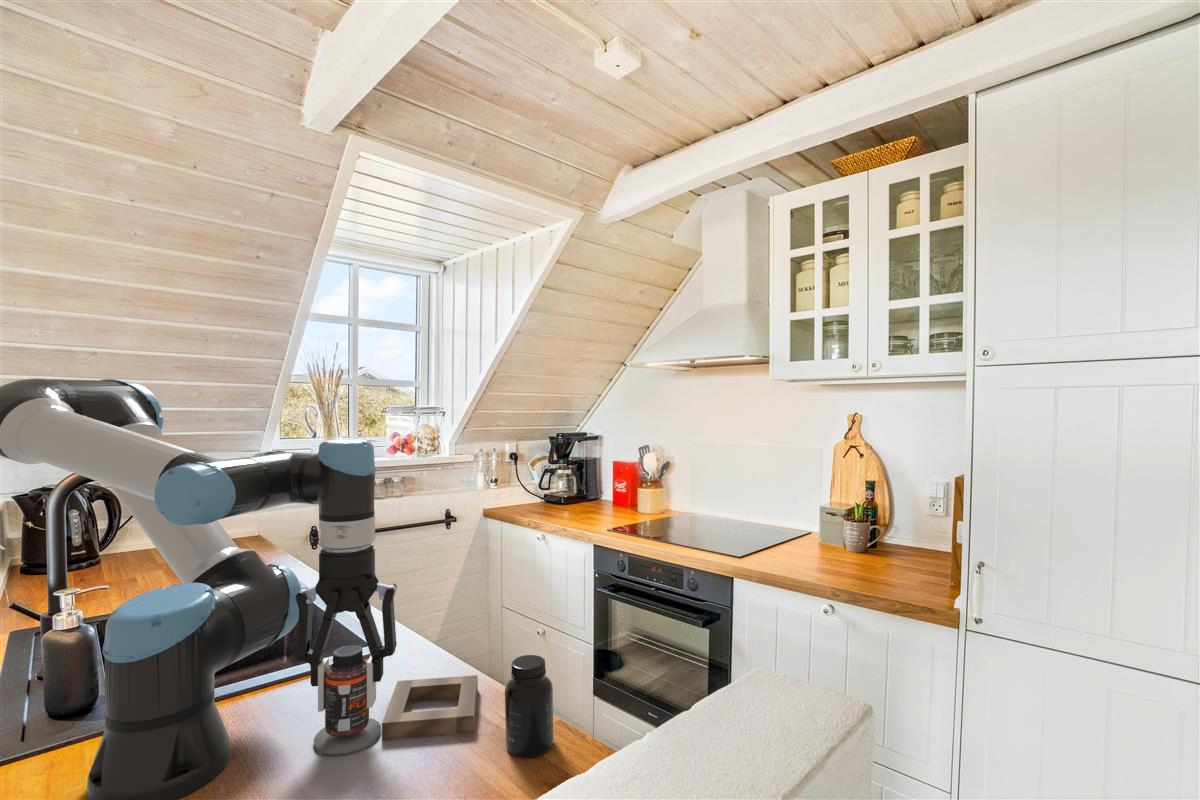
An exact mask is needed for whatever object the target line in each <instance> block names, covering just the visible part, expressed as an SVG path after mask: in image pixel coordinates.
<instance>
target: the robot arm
mask: <svg viewBox="0 0 1200 800" xmlns="http://www.w3.org/2000/svg"><path fill="white" fill-rule="evenodd" d="M162 412H163V409H162V406H161V404H160V402H159V400H158V398H157V397H156V396H155V395H154V394H153V392H152V391H150V390H149V389H148V388H147V387H145V386H143V385H142V384H139V383H137V382H133V381H127V380H126V381H124V380H120V379H111V378H109V379H107V378H106V379H105V378H104V379H99V380H97V379H96V380H95V379H93V380H92V379H59V378H55V379H54V378H52V379H51V378H26V379H19V380H14V381H12V382H10V383H5V384H3V385H1V386H0V456H1V457H3V458H5V459H9V460H12V461H14V462H16V463H21V464H24V465H25V464H26V465H37V464H47V465H49V466H53V467H56V468H58V469H61V470H64V471H67V472H70V473H73V474H76V475H79V476H82V477H85V478H87V479H90V480H93V481H96V482H98V483H101V484H104V485H108V486H110V487H111V489H112V490H113V492H114V493H115V494H116V496H117V497H118V498H119V499H120V501H121V502H122V504H123V505H124V506H125V508H126V510H128V512H129V513H130V515H131V516H132V517H133V518H134V520H135V521H136V522H137V524H138V525H139V526H140V529H142V531H143V532H144V533H145V535H146V536H147V537H148V538H149V540H150V542H151V543H152V544H153V546H154V547H155V549H156V550H157V551H158V552H159V554H160V555H161V557H162V558H163V560H165V561H166V563H167V564H168V566H169V567H170V568H171V570H172V571H173V573H174V574H175V575H176V576H177V578H178V579H179V581H180V582H181V583H176V584H171V585H169V586H166V587H158V588H155V589H151V590H149V591H146V592H145V591H144V592H143V593H140V594H137V595H136V596H133V597H131V598H130V599H128V600H126V601H124V602H123V603H121V604H120V605H118V606H117V607H116V608H115V609H114V610H112V612H111V613H110V615H109V616H108V619H107V621H106V624H105V628H104V629H105V631H104V632H105V634H104V642H103V645H102V655H103V657H104V715H105V716H104V723H105V724H104V732H103V735H102V737H101V740H100V742H99V745H98V749H97V751H96V754H95V755H94V758H93V759H94V760H93V762H92V764H91V767H90V770H89V773H88V776H87V779H86V780H87V781H86V799H87V800H177V799H179V798H182V797H185V796H186V795H188V794H190V793H192V792H194V791H196V790H198V789H199V788H201V787H203V786H205V785H206V784H207V783H209V782H211V781H212V780H213V779H214V778H215V777H216V776H217V775H219V774H220V773H221V772H222V771H223V770H224V769H225V767H226V766H227V764H228V762H229V761H230V757H231V756H230V755H231V754H230V753H231V752H230V751H231V750H230V749H231V748H230V747H231V745H230V742H231V741H230V740H231V739H230V736H229V733H228V730H227V729H226V726H225V724H224V721H223V719H222V716H221V714H220V712H219V709H218V708H217V704H216V701H215V674H216V673H217V672H218V671H220V670H222V669H224V668H226V667H228V666H230V665H232V664H234V663H236V662H238V661H241V660H242V659H244V658H246V657H248V656H250V655H251V654H254V653H256V652H257V651H259V650H261V649H266V648H268V647H270V646H271V645H273V644H274V643H275V642H277V640H280V639H281V638H283V637H284V636H286V635H287V634H289V633H290V632H291V631H292V630H293V629H294V627H296V625H297V638H296V639H297V640H296V650H295V651H296V653H295V655H296V656H295V659H296V661H297V662H298V663H299V662H300V663H302V662H305V663H308V664H309V666H310V685H311V687H317V712H320V713H321V712H325V677H326V671H327V669H328V668H329V666H330V657H324V655H325V650H326V648H327V645H328V641H329V639H330V636H331V632H332V630H333V625H334V623H335V620H336V617H337V614H339V613H344V612H350V613H355V615H356V618H357V619H358V621H359V624H360V628H361V629H362V633H363V636H364V638H365V641H366V645H367V647H368V651H369V653H370V656H369V658H368V660H367V661H366V662H367V708H369V709H371V708H373V707H374V704H375V702H376V700H377V683H380V682H381V680H382V678H383V675H384V658H386V657H391V656H393V655H394V653H395V650H396V648H397V631H396V630H397V629H396V616H395V604H394V603H395V601H394V600H395V599H394V598H395V595H396V593H397V590H398V589H397V588H398V586H397V584H396V583H390V584H385V583H381V582H379V580H378V578H377V576H376V548H375V546H374V545H373V543H374V542H375V541H376V521H375V520H376V515H375V512H376V511H375V487H376V485H375V484H376V472H377V467H376V466H375V449H374V445H373V443H372V442H371V441H369V440H367V439H355V438H354V439H345V438H344V439H330V440H324V441H321V442H320V444H319V446H318V452H296V451H295V452H294V451H290V452H289V451H284V450H274V451H262V452H261V451H260V452H258V453H255V454H254V455H253V456H248V457H236V458H227V459H221V458H216V457H212V456H209V455H206V454H202V453H199V452H197V451H194V450H190V449H187V448H185V447H181V446H178V445H176V444H171V443H169V442H165V441H162V437H163V433H162V430H163V425H164V416H162V415H161V413H162ZM288 504H307V505H318V545H319V546H320V547H321V550H319V553H318V580H317V582H316V585H315V586H312V587H309V588H308V587H303V588H302V586H301V582H300V581H299V578H298V577H297V575H296V574H295V572H294V571H292V570H291V569H290V568H289V567H288V566H285V565H283V564H278V563H269V564H266V563H265V562H264V560H263V559H262V557H260V555H259V554H258V553H257V552H256V550H255V549H253V548H240V547H239V546H238V545H237V544H236V543H235V542H234V539H232V537H231V536H230V535H229V533H228V532H227V531H226V529H225V528H224V527H223V526H222V524H220V523H221V522H219V520H222V519H227V518H231V517H235V516H240V515H243V514H248V513H252V512H257V511H260V510H266V509H270V508H274V507H278V506H283V505H288ZM376 592H377V593H378V598H379V600H380V601H382V603H381V604H382V605H381V613H382V627H383V630H382V631H383V641H384V643H382V639H381V636H380V633H379V631H378V628H377V625H376V622H375V618H374V616H373V612H372V607H371V604H370V599H371V598H372V597H373V595H374V594H375V593H376ZM317 595H318V597H319V598H320V600H322V602H323V604H324V605H326V606H325V610H324V613H323V616H322V621H321V625H320V627H319V630H318V633H317V636H316V640H315V643H314V647H313V649H311V646H312V631H313V629H312V628H313V619H314V618H313V617H314V602H315V601H316V599H317ZM383 644H384V645H383Z"/></svg>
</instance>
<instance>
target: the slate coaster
mask: <svg viewBox="0 0 1200 800" xmlns="http://www.w3.org/2000/svg"><path fill="white" fill-rule="evenodd" d="M381 735H382V724H381V723H380V722H379V721H378V720H377V719H375V718H371V717H369V722H368V725H367V726H366V727H365V728H364V729H363V730H362V731H360V732H359V733H357V734H354V735H351V736H347V737H334V736H331V735H329V734H328V733H327V732H326V730H325V726H324V727H323V728H322V729H320V730H319V731H318V732H317V733H316V735H315V736H314V739H313V747H314V750H315V751H316V752H317V753H319V754H321V755H324V756H328V757H342V756H343V757H344V756H348V755H353V754H355V753H358V752H361V751H363V750H365V749H367V748H369V747H371V746H372V745H373V744H376V742H377V741H378V739H379V738H380V737H381Z"/></svg>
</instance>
